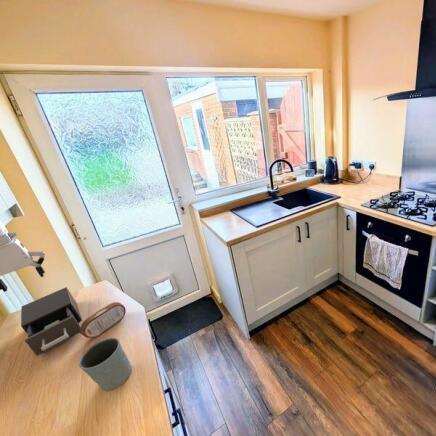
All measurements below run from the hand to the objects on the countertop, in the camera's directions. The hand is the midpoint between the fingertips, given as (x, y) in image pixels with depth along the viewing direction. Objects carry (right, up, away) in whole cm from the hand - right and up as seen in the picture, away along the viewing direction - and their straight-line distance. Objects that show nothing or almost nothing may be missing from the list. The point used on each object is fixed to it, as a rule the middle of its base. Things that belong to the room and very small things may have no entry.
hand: (24, 282), depth 88 cm
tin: (+24, -20, +9) cm, 33 cm away
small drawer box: (-2, -20, +15) cm, 25 cm away
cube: (+7, -21, +6) cm, 23 cm away
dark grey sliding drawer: (+7, -22, +6) cm, 24 cm away
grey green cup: (+41, -27, -11) cm, 50 cm away
